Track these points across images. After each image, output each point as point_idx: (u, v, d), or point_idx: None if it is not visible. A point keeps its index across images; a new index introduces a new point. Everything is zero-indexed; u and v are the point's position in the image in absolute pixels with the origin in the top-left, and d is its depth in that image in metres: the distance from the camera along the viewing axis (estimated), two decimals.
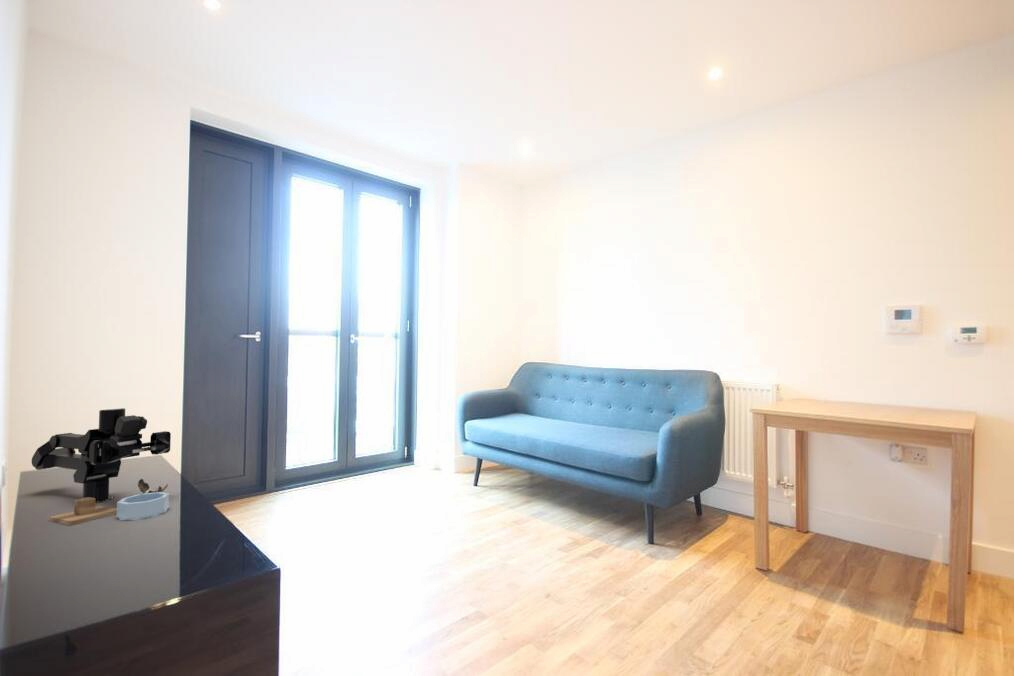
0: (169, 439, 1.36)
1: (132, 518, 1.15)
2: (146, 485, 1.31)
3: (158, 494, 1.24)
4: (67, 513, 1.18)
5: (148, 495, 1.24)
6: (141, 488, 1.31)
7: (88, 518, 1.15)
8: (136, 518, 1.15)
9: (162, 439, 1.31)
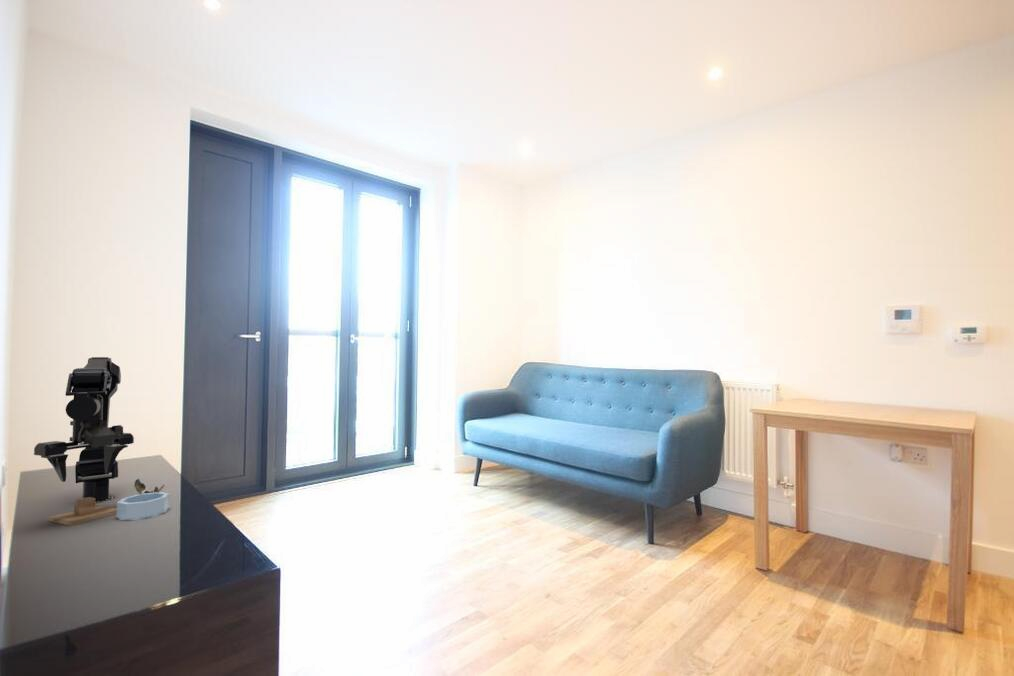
0: None
1: (132, 518, 1.15)
2: (143, 485, 1.30)
3: (158, 494, 1.24)
4: (67, 513, 1.18)
5: (148, 495, 1.24)
6: (137, 488, 1.31)
7: (88, 518, 1.15)
8: (136, 518, 1.15)
9: (114, 455, 1.23)
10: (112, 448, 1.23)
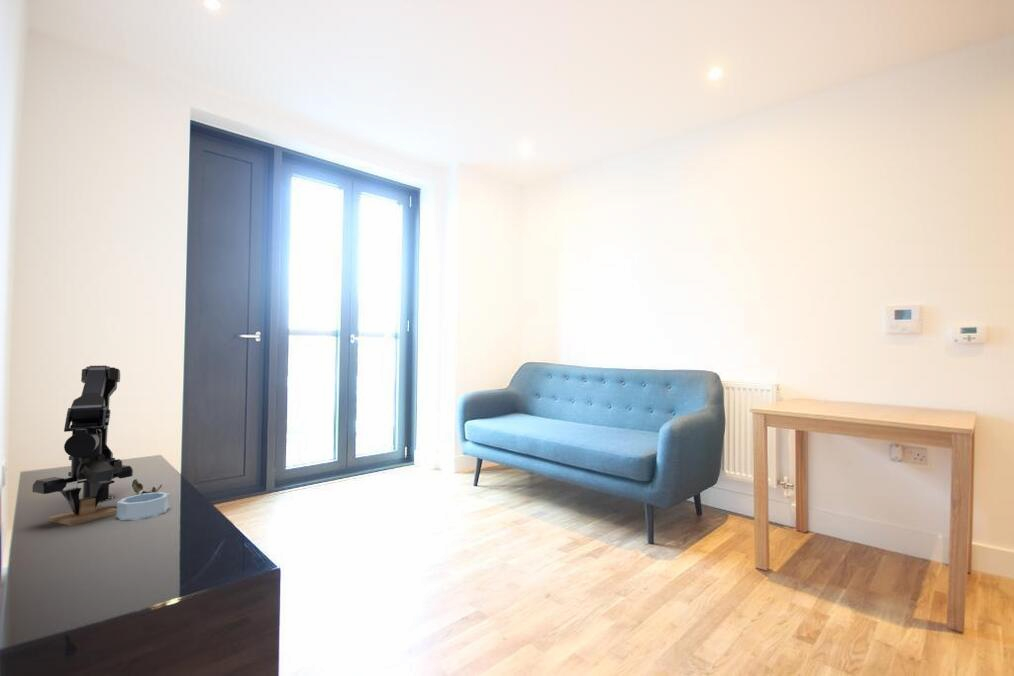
0: None
1: (132, 518, 1.15)
2: (140, 485, 1.30)
3: (158, 494, 1.24)
4: (67, 513, 1.18)
5: (148, 495, 1.24)
6: (135, 488, 1.31)
7: (88, 518, 1.15)
8: (136, 518, 1.15)
9: (100, 491, 1.20)
10: (98, 484, 1.20)
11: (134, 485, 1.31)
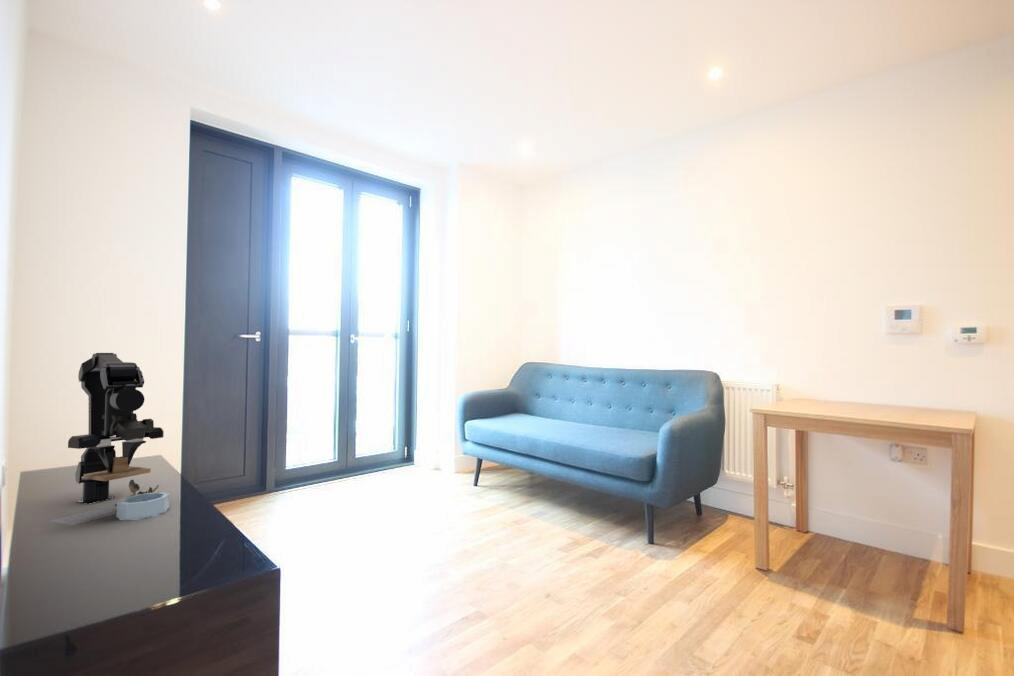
0: None
1: (132, 518, 1.15)
2: (137, 486, 1.30)
3: (158, 494, 1.24)
4: (101, 472, 1.19)
5: (148, 495, 1.24)
6: (131, 489, 1.30)
7: (121, 475, 1.16)
8: (136, 518, 1.15)
9: (132, 451, 1.21)
10: (130, 444, 1.21)
11: (131, 485, 1.31)
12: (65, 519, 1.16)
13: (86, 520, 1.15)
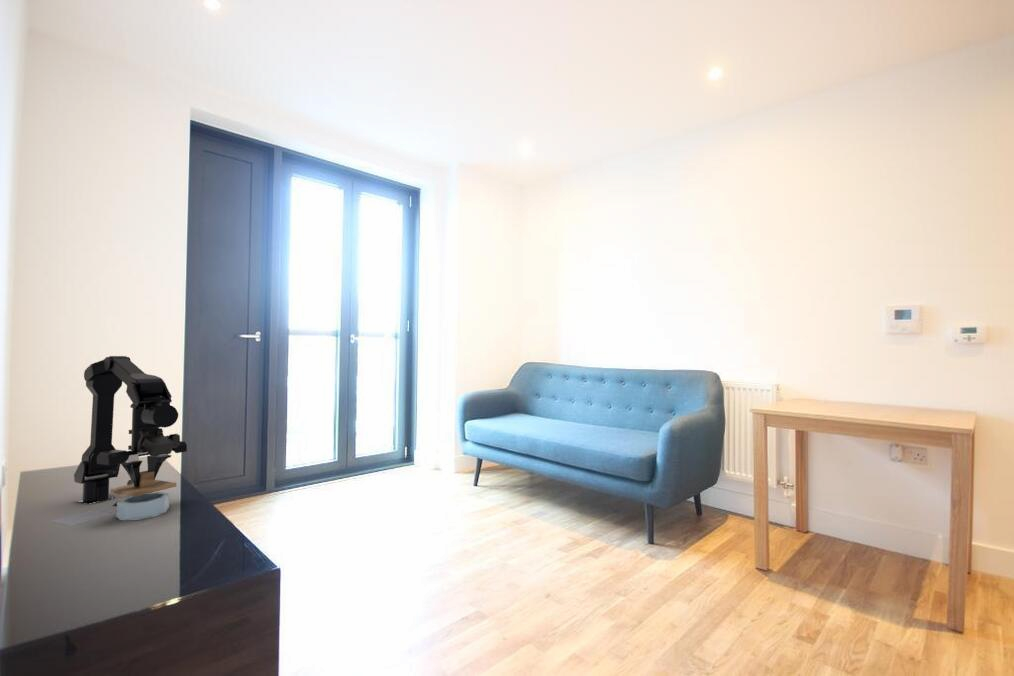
0: None
1: (132, 518, 1.15)
2: None
3: (158, 494, 1.24)
4: (127, 486, 1.20)
5: (148, 495, 1.24)
6: None
7: (149, 490, 1.17)
8: (136, 518, 1.15)
9: (158, 465, 1.22)
10: (156, 458, 1.22)
11: None
12: (65, 519, 1.16)
13: (86, 520, 1.15)
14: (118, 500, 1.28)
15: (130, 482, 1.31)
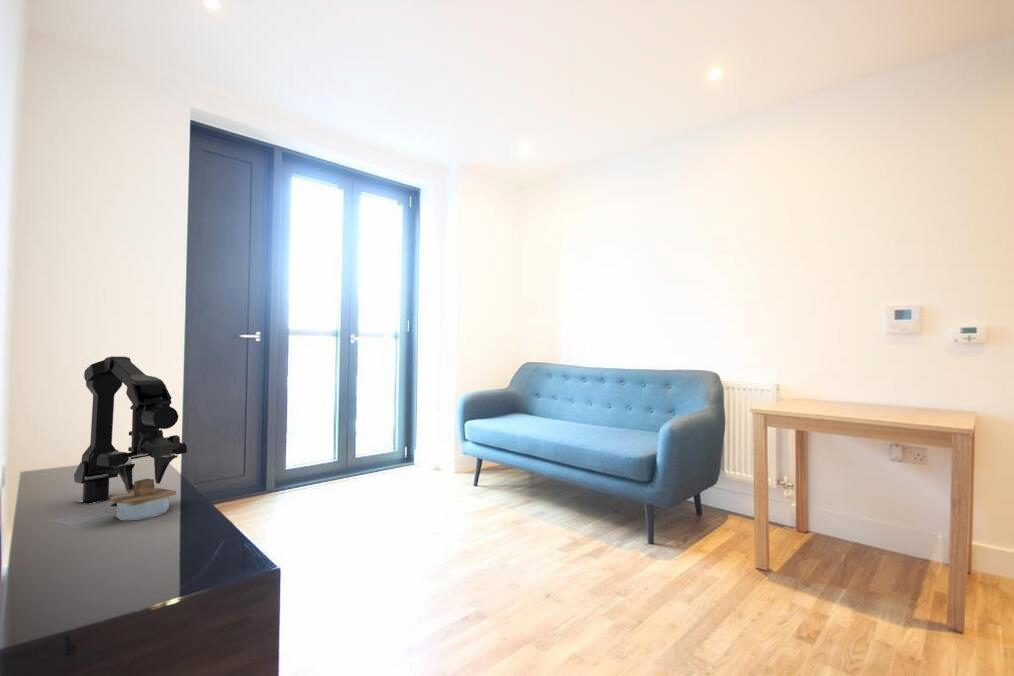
0: None
1: (132, 518, 1.15)
2: (133, 486, 1.30)
3: None
4: (127, 494, 1.20)
5: None
6: None
7: (149, 498, 1.17)
8: (136, 518, 1.15)
9: (165, 465, 1.24)
10: (163, 458, 1.24)
11: None
12: (65, 519, 1.16)
13: (86, 520, 1.15)
14: None
15: None
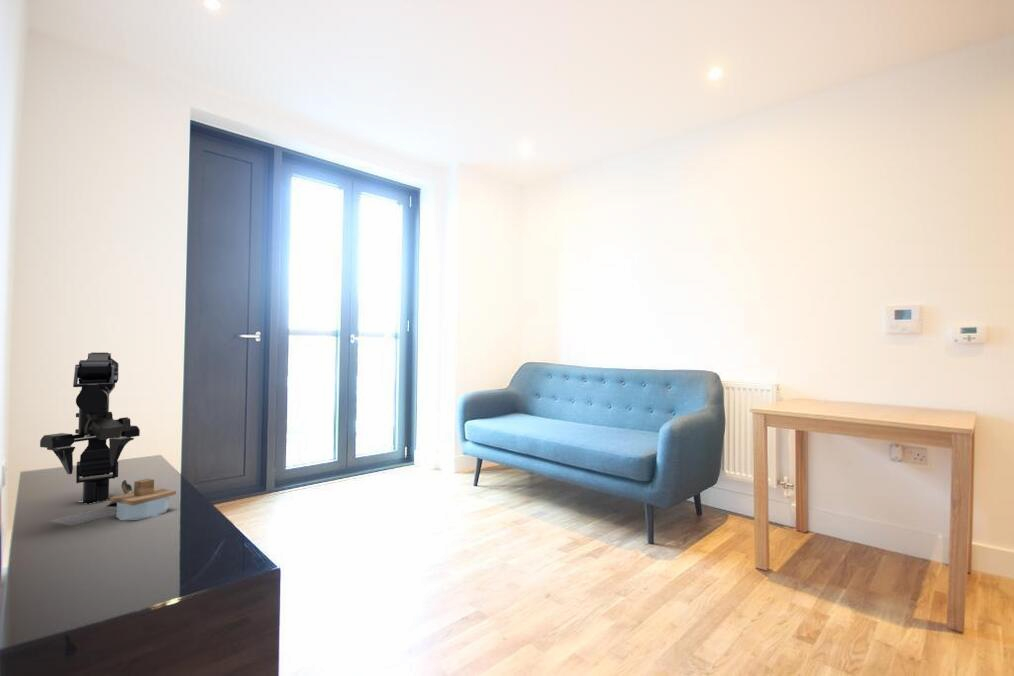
0: None
1: (132, 518, 1.15)
2: (129, 486, 1.30)
3: None
4: (127, 494, 1.20)
5: None
6: (124, 489, 1.30)
7: (149, 498, 1.17)
8: (136, 518, 1.15)
9: (120, 447, 1.22)
10: (118, 441, 1.22)
11: (123, 486, 1.30)
12: (65, 519, 1.16)
13: (86, 520, 1.15)
14: None
15: (124, 483, 1.31)
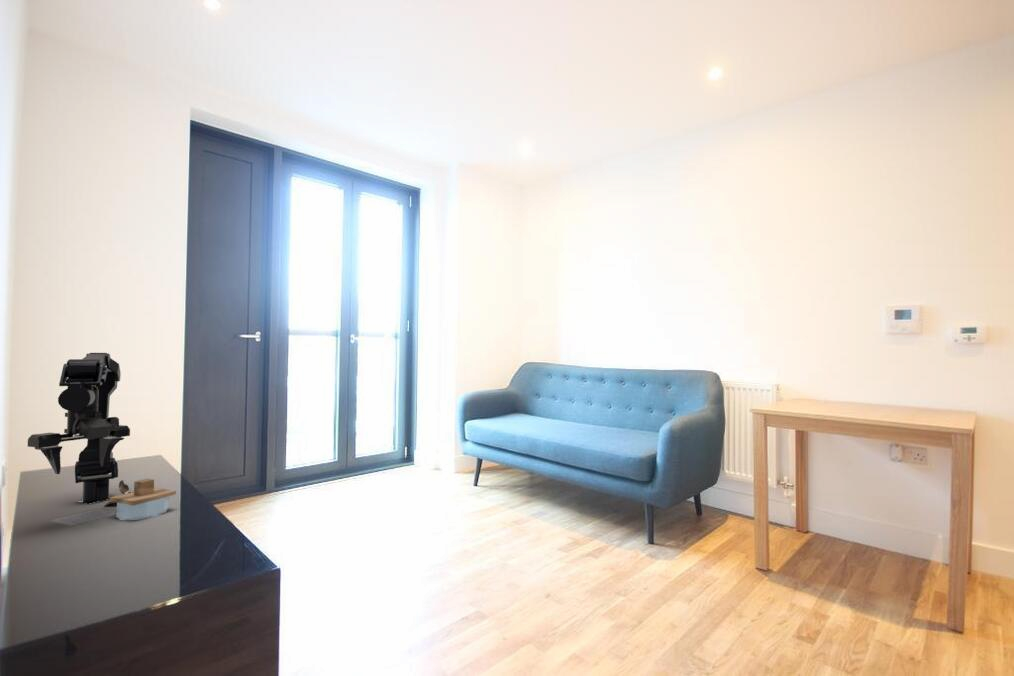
0: None
1: (132, 518, 1.15)
2: (126, 487, 1.29)
3: None
4: (127, 494, 1.20)
5: None
6: (121, 489, 1.30)
7: (149, 498, 1.17)
8: (136, 518, 1.15)
9: (110, 447, 1.21)
10: (108, 440, 1.21)
11: (120, 486, 1.30)
12: (65, 519, 1.16)
13: (86, 520, 1.15)
14: (109, 501, 1.27)
15: (122, 483, 1.31)
